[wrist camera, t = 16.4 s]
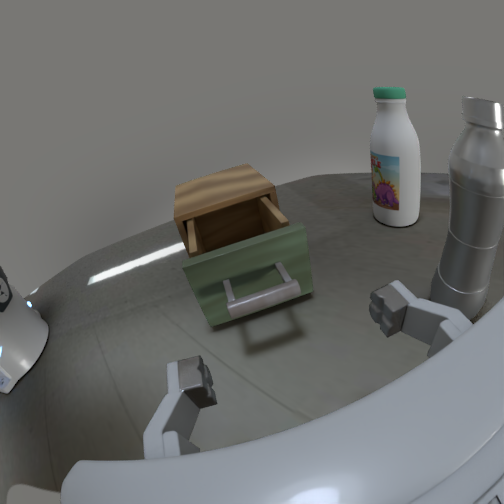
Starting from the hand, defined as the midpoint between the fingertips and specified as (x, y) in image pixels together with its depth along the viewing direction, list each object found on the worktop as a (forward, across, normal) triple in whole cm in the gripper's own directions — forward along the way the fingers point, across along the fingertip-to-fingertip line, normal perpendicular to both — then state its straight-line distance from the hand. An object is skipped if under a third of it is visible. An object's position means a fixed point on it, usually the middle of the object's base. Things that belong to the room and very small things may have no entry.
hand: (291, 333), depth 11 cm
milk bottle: (+22, -25, +12) cm, 35 cm away
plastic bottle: (+3, -18, +11) cm, 22 cm away
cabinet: (+30, 0, +12) cm, 32 cm away
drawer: (+17, 0, +10) cm, 20 cm away
